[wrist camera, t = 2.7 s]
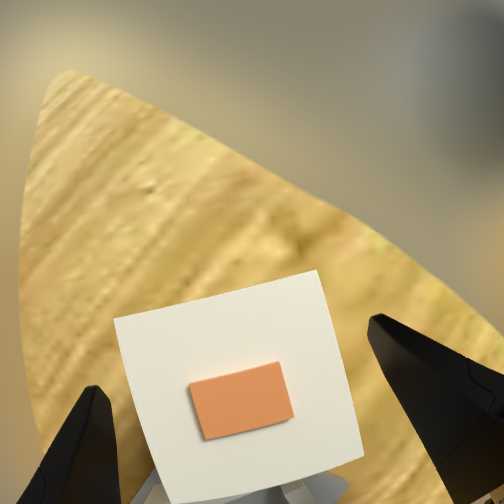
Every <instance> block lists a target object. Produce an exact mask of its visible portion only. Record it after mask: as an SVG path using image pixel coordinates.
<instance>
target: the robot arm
mask: <svg viewBox="0 0 504 504" xmlns="http://www.w3.org/2000/svg"><path fill="white" fill-rule="evenodd" d="M367 336H368V340H369V342H370V345H371V347H372V349H373V351H374V353H375V356H376V358H377V360H378V362H379V365H380V367H381V369H382V371H383V374H384V376H385V378H386V379H387V381H388V383H389V385H390V386H391V388H392V390H393V392H394V393H395V395H396V397H397V398H398V400H399V402H400V404H401V405H402V407H403V409H404V411H405V413H406V414H407V416H408V418H409V420H410V421H411V423H412V425H413V427H414V429H415V430H416V432H417V434H418V436H419V438H420V439H421V441H422V443H423V445H424V447H425V449H426V450H427V452H428V454H429V456H430V458H431V460H432V462H433V464H434V465H435V467H436V470H437V471H438V473H439V475H440V477H441V479H442V481H443V483H444V485H445V487H446V489H447V491H448V493H449V495H450V497H451V499H452V501H453V503H454V504H471V503H473V502H475V501H477V500H478V499H480V498H482V497H484V496H485V495H487V494H490V496H491V497H490V498H489V499H488V500H486V501H485V502H484V504H504V375H503V374H501V373H498V372H496V371H494V370H491V369H489V368H487V367H485V366H483V365H481V364H479V363H477V362H475V361H473V360H471V359H469V358H466V357H465V356H463V355H461V354H459V353H457V352H456V351H454V350H452V349H450V348H448V347H446V346H444V345H442V344H440V343H438V342H436V341H434V340H433V339H431V338H429V337H427V336H425V335H423V334H421V333H419V332H417V331H415V330H413V329H411V328H410V327H408V326H406V325H404V324H402V323H400V322H398V321H396V320H394V319H392V318H390V317H388V316H386V315H385V314H382V313H380V314H377V315H374V316H372V317H370V319H369V326H368V332H367ZM16 504H121V497H120V487H119V475H118V461H117V445H116V437H115V430H114V423H113V416H112V408H111V402H110V400H109V398H108V397H107V396H106V394H105V393H104V392H103V391H102V389H101V388H100V387H99V386H97V385H92V386H87V387H86V388H85V389H84V391H83V392H82V394H81V395H80V397H79V399H78V400H77V402H76V404H75V405H74V407H73V408H72V410H71V412H70V413H69V415H68V417H67V418H66V420H65V422H64V423H63V425H62V427H61V428H60V430H59V432H58V433H57V435H56V437H55V439H54V440H53V442H52V444H51V446H50V447H49V449H48V451H47V453H46V454H45V456H44V458H43V460H42V461H41V463H40V467H38V469H37V471H36V472H35V474H34V476H33V478H32V479H31V481H30V483H29V485H28V486H27V488H26V489H25V491H24V492H23V494H22V496H21V497H20V499H19V500H18V502H17V503H16Z"/></svg>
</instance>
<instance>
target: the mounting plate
mask: <svg viewBox="0 0 504 504" xmlns="http://www.w3.org/2000/svg"><path fill="white" fill-rule="evenodd" d="M348 487H349V483H348V482H347V481H346V480H345V479H344V478H343V477H341V476H338V475H335V474H333V473H330V472H327V471H323V472H320V473H317V474H314V475H311V476H308V477H305V478H302V479H298V480H295V481H292V482H288V483H285V484H281V485H277V486H274V487H270V488H266V489H262V490H257V491H253V492H249V493H244V494H239V495H234V496H229V497H223V498H217V499H211V500H205V501H197V502H189V503H180V504H336V502H337V501H338V500H339V499H340V497H341V496H342V495H343V493H344V492H345V491H346V489H347V488H348ZM129 504H171V502H170V500H169V498H168V495H167V493H166V491H165V488H164V486H163V483H162V481H161V479H160V476H159V474H158V471H157V468H156V466H155V467H154V469H153V470H152V472H151V473H150V475H149V476H148V478H147V479H146V481H145V482H144V483H143V485H142V486H141V488H140V489H139V491H138V492H137V494H136V495H135V496H134V498H133V499H132V501H131V502H130V503H129Z"/></svg>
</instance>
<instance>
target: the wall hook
mask: <svg viewBox="0 0 504 504" xmlns="http://www.w3.org/2000/svg"><path fill="white" fill-rule="evenodd" d="M490 497H491V496H490V494H487V495H485V496H484V497H482V498H480V499H478V500H477V501H475V502H473V503H471V504H484V502H485V501H486V500H488V499H489V498H490Z"/></svg>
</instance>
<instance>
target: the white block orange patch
mask: <svg viewBox="0 0 504 504" xmlns="http://www.w3.org/2000/svg"><path fill="white" fill-rule="evenodd" d="M114 323H115V328H116V333H117V338H118V342H119V347H120V351H121V355H122V359H123V363H124V367H125V371H126V375H127V379H128V383H129V386H130V390H131V394H132V397H133V401H134V404H135V407H136V411H137V414H138V417H139V420H140V423H141V426H142V429H143V432H144V435H145V438H146V441H147V444H148V447H149V450H150V452H151V455H152V458H153V461H154V463H155V466H156V468H157V471H158V474H159V476H160V479H161V481H162V483H163V486H164V488H165V491H166V493H167V495H168V498H169V500H170V502H171V504H180V503H189V502H197V501H205V500H211V499H217V498H223V497H229V496H234V495H239V494H244V493H249V492H253V491H257V490H262V489H266V488H270V487H274V486H277V485H281V484H285V483H288V482H292V481H295V480H298V479H302V478H305V477H308V476H311V475H314V474H317V473H320V472H323V471H326V470H329V469H331V468H334V467H337V466H339V465H342V464H345V463H347V462H350V461H352V460H355V459H357V458H359V457H362V456H364V451H363V446H362V442H361V437H360V432H359V428H358V424H357V419H356V415H355V411H354V406H353V402H352V398H351V394H350V390H349V386H348V381H347V377H346V374H345V370H344V366H343V362H342V358H341V354H340V350H339V347H338V343H337V339H336V335H335V332H334V328H333V324H332V321H331V317H330V314H329V310H328V307H327V303H326V300H325V296H324V293H323V289H322V286H321V283H320V279H319V276H318V273H317V269H316V270H313V271H309V272H305V273H302V274H298V275H294V276H290V277H286V278H283V279H279V280H275V281H271V282H267V283H263V284H259V285H255V286H252V287H248V288H244V289H240V290H236V291H232V292H228V293H223V294H219V295H215V296H211V297H207V298H203V299H199V300H195V301H190V302H186V303H182V304H178V305H173V306H169V307H165V308H160V309H156V310H151V311H147V312H142V313H138V314H133V315H129V316H124V317H120V318H115V319H114Z"/></svg>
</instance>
